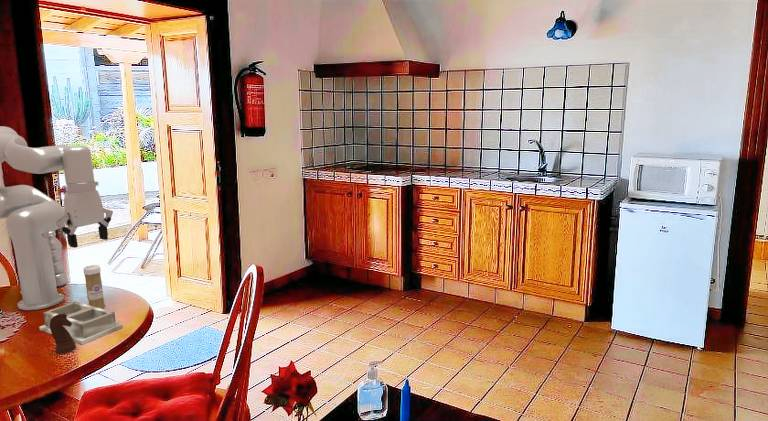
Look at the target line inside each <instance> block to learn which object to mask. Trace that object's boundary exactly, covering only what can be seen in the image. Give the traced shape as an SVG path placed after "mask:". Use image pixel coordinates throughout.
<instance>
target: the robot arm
mask: <svg viewBox="0 0 768 421" xmlns="http://www.w3.org/2000/svg"><path fill="white" fill-rule="evenodd" d="M3 162H6V163H7V164H8V165H9V166H10V167H12V169H14V170H18V171H21V172H25V173H30V174H38V175H41V174H42V175H43V174H49V173H53V172H59V171H63V174H64V178H65V179H64V180H65V185H66V186H65V187H66V191H67V192H66V193H64V194H63V195H64V197H63V206H62V205H61V204H60V203H58V202H57V201H56V200H54V199H53V198H51V197H50V196H48V195H47V194H45V193H44V192H42V191H40V190H39V189H37V188H35V187H33V186H31V185H28V184H27V185H26V184H19V185H18V184H17V185H12V186H2V185H0V220H1V219H6V221H5V225H6V229H7V232H8V234H9V237H10V239H11V243H12V246H13V250H14V255H15V260H16V267H17V273H18V279H19V285H20V289H21V290H20V291H19V293H20V295H21V296H22V299H21V300H20V301H19V302H17V308H18V309H20V310H22V311H34V310H35V311H36V310H37V311H38V310H42V309H47V308H51V307H53V306H57V305H58V304H60V303H62V302H63V301H64V299H65V297H64V294H62V293H58V288H57V287H56V280H55V273H54V267H53V260H52V254H51V249H50V246H49V244H48V242H47V241H46V240H45V239H44V237H43V234H45V233H48V232H51V231H54V230H55V231H57V230H59V231H61V232H62V233H64V234H65V235H66V237H67V244H68V246H69V247H71V248H78V247H79V245H78V237H77V235H76V234H75V232H76V230H78V228H80V227H85V226H89V225H95V224H98V228H97V229H98V234H99V235H98V236H99V239H101V240H108V239H109V237H108V235H109V233H108V227H109V224H110V222H111V220H112V217H113V212H114V211H112V210H110V209H108V208H104V206H103V202H102V200H101V199H102V198H101V195H100V193H99V191H98V190H97V189H96V188H97V187H98V186H99V182H98V181H96V180H95V175H94V169H93V167H94V166H93V162H92V154H91V149H90V148H89V147H88V146H85V145H75V146H69V145H66V144H64V145H63V144H62V145H61V144H60V145H49V146H41V147H30V146H28V143H27V141H26V140H25V138H24V137H23V136H21V135H19V134H18V133H17V132H16V130H14V129H13V128H11V127H9V126H5V125H4V126H0V165H1V164H2V163H3ZM65 225H66V226H67V227H66V226H65Z"/></svg>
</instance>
